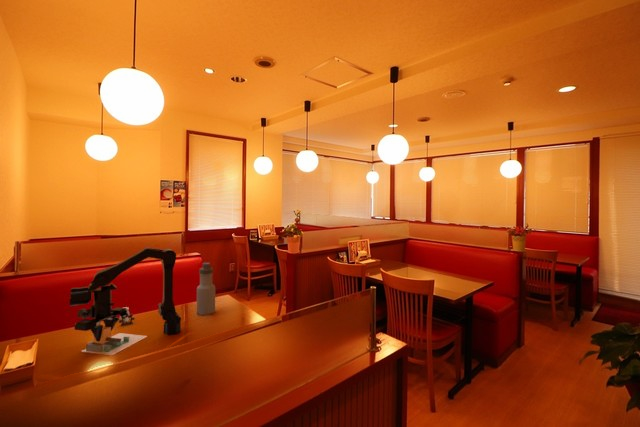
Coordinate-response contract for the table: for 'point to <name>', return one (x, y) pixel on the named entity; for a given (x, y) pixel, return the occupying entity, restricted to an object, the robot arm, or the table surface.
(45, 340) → the table surface
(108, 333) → the block
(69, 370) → the table surface
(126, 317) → the valve
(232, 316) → the table surface
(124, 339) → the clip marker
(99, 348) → the end holder
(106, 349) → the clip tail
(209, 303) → the water bottle
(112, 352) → the board
